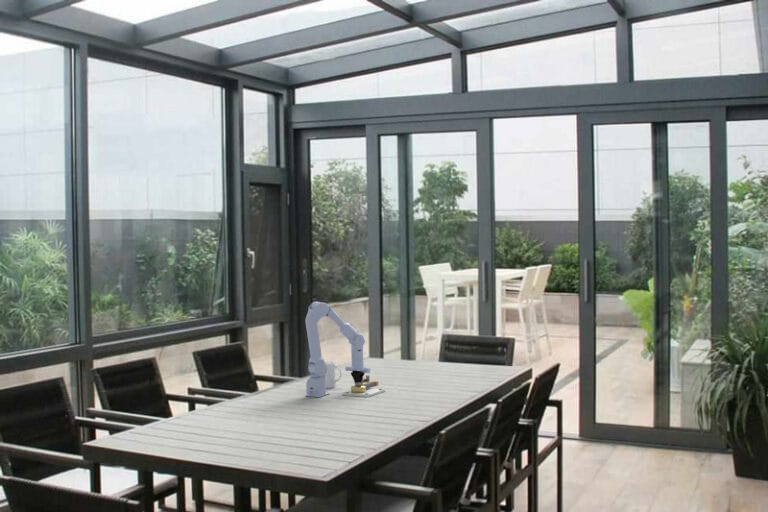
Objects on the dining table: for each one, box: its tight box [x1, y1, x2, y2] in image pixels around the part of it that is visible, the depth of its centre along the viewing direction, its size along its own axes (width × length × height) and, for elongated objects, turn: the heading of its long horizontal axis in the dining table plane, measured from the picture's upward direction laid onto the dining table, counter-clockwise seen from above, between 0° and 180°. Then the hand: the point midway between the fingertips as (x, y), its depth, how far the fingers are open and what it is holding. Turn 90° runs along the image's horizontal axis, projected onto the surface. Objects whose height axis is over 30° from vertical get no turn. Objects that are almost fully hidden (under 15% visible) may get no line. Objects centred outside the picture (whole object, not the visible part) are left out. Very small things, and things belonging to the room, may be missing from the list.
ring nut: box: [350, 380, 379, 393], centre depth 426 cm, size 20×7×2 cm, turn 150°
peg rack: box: [361, 374, 373, 385], centre depth 441 cm, size 10×5×5 cm, turn 150°
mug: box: [324, 361, 343, 389], centre depth 442 cm, size 12×8×12 cm
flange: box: [342, 382, 386, 398], centre depth 422 cm, size 16×14×5 cm
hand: (358, 386), depth 430 cm, fingers closed
